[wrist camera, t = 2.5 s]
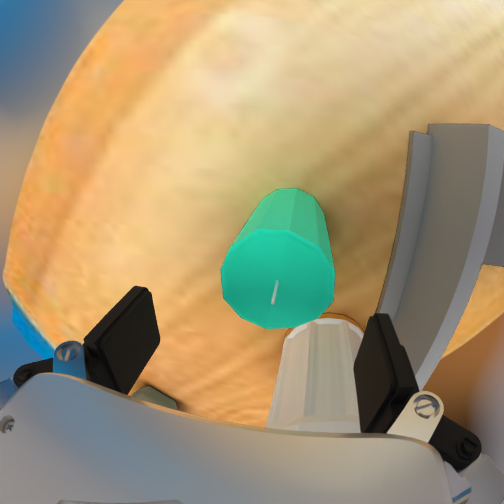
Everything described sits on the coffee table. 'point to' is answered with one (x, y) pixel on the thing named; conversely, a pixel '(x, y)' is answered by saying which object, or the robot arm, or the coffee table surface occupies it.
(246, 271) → the candle
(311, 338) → the cup
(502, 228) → the mat
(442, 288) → the board
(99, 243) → the coffee table surface
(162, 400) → the flower pot
